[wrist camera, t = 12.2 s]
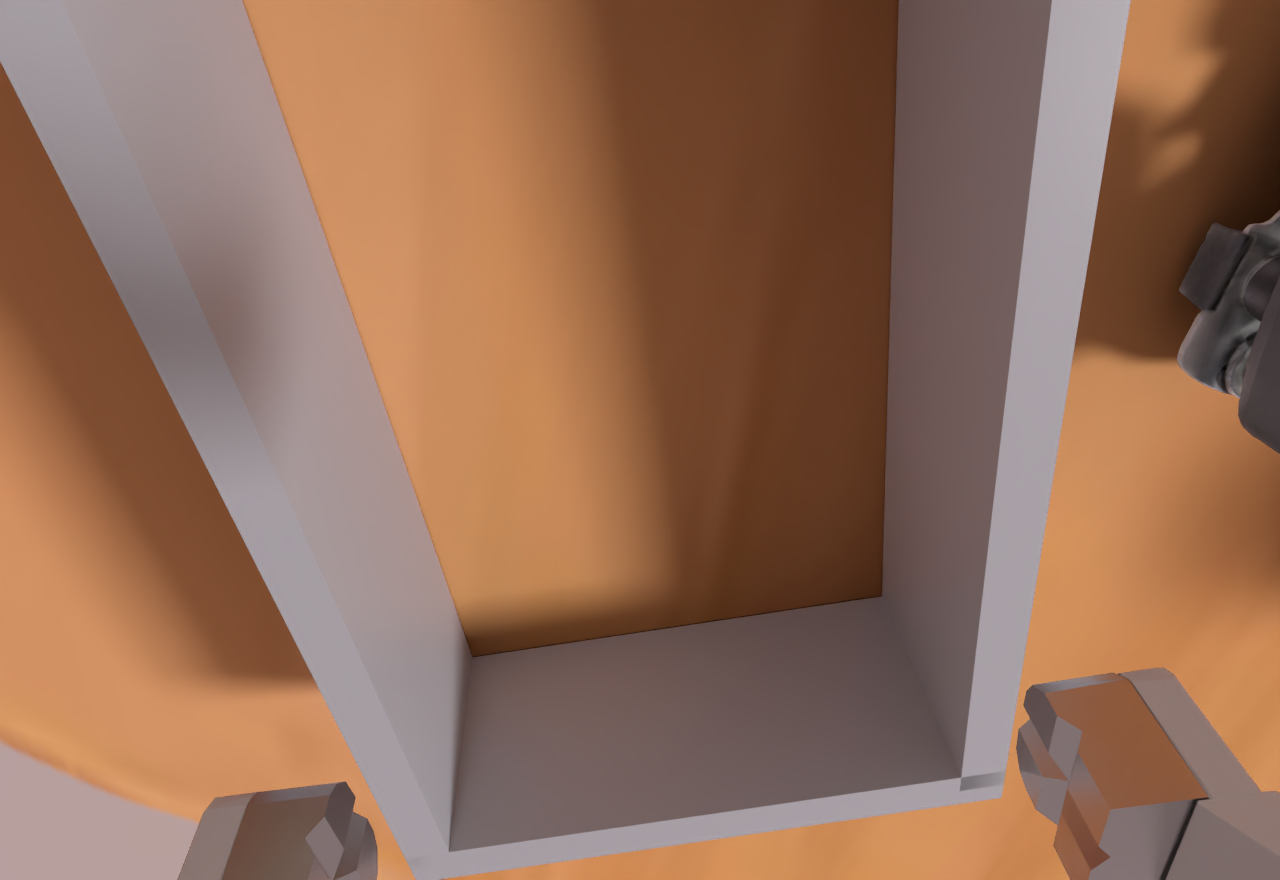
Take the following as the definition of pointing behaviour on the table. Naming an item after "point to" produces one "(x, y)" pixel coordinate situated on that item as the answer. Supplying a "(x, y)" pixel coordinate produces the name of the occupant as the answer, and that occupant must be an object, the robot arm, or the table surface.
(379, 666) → the duct
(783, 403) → the table surface
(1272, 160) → the table surface
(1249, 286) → the can opener
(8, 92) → the table surface
